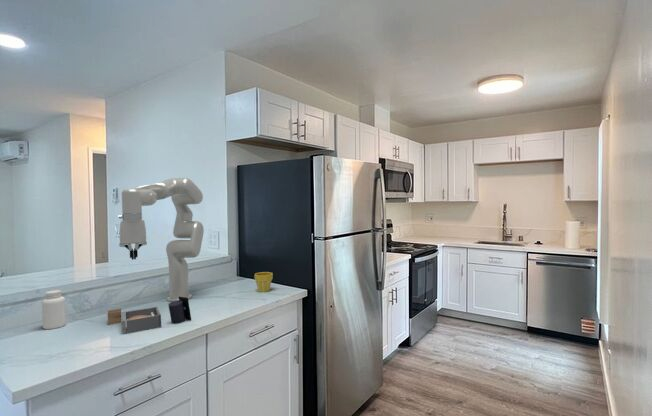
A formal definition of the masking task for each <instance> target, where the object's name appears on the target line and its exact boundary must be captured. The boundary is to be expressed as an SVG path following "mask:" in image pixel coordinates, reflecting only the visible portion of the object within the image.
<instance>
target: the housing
mask: <svg viewBox="0 0 652 416" xmlns="http://www.w3.org/2000/svg"><path fill="white" fill-rule="evenodd" d="M151 312H153V314H155V316H150V317H144V318H138V319H132V320H126V325H127V330H126V334H132V333H137V332H144V331H149V330H154V329H159V328H162V314H161V312H160V310H159V308H158V306H155V307H147V308H141V309H134V310H129V311H127V310H126V311H125V319H129V318H130V317H133V316H137V315H151Z"/></svg>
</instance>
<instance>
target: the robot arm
mask: <svg viewBox="0 0 652 416" xmlns="http://www.w3.org/2000/svg"><path fill="white" fill-rule="evenodd" d="M202 192H203V191H202V190H201V189H200V188H199V186H197V185H196V183H194V182H193V180H191V179H190V178H187V177H177V178H176V177H175V178H168V179H165V180H162V181H159V182H155V183H150V184H146V185H141V186H136V187H133V188H129V189H123V190H122V191H121V210H122V211H121V213H122V214H120V215H119V214H118V219H121V221H120V223H119V244H118V246H119V247H121V248H126V249H127V250H128V251H129V258H130V259H131V260H132V261H133V260H137V258H138V250H139V249H140V248H141V247H143V246H147V244H148V242H147V228H146V224H145V223H146V222H145V219H144V220H143V209H142V206H143V207H146V206H147V207H148V206H153V205H155V204H156V203H157V202H158V201H160V200H165V199H168V198H169V197H171V199H170V200H171V202H172V203H173V205H174V208H175V210H176V215H175V221H174V224H173V225H174V226H173V231H172V233H173V234H172V235H173V237H175V238H176V239H175V240H171V241H168V243H167V244H166V247H165V252H166V256H167V260H168V277H169V279H168V281H169V282H168V283H169V284H168V285H169V296H166V301H168V302H173V301H178V300H179V297H187V298H188V300H190V299H192V297H193V295H192V294H191V293H189V291H190V290H189V287H190V285H189V264H188V262H187V260H186V259H187V258H189V259H191V258H192V259H193V258H197V257H198V256H199V255H200V252H201V248H202V245H203V243H202V242H203V238H204V231H205V230H204V225H203V223H202V222H200V221H199V220H198V221H197V220H193V215H194V214H193V211H192V209H191V208H190V207H189V206H188V205H199V204H201V203H202V201H203V200H204V194H203V193H202ZM132 244H134V249H133V247H132Z"/></svg>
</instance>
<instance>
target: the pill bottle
mask: <svg viewBox="0 0 652 416" xmlns="http://www.w3.org/2000/svg"><path fill="white" fill-rule="evenodd" d="M44 295H45V296H44V297H45V298H44V299H43V300H42V302H41V313H42V315H41V316H42V328H43V329H44V330H54V329H59V328H62V327H64V326H66V324H67V309H66V308H67V307H66V306H67V304H66V298H65V297H64V296H62V290H60V289H55V290H53V289H52V290H50V291H49V290H48V291H46V292H45V294H44Z"/></svg>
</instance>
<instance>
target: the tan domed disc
mask: <svg viewBox="0 0 652 416" xmlns="http://www.w3.org/2000/svg"><path fill="white" fill-rule="evenodd" d="M144 317H149V316H148V315H137V316H133V317H130V318H129V319H128V320H132V319H138V318H144Z"/></svg>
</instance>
